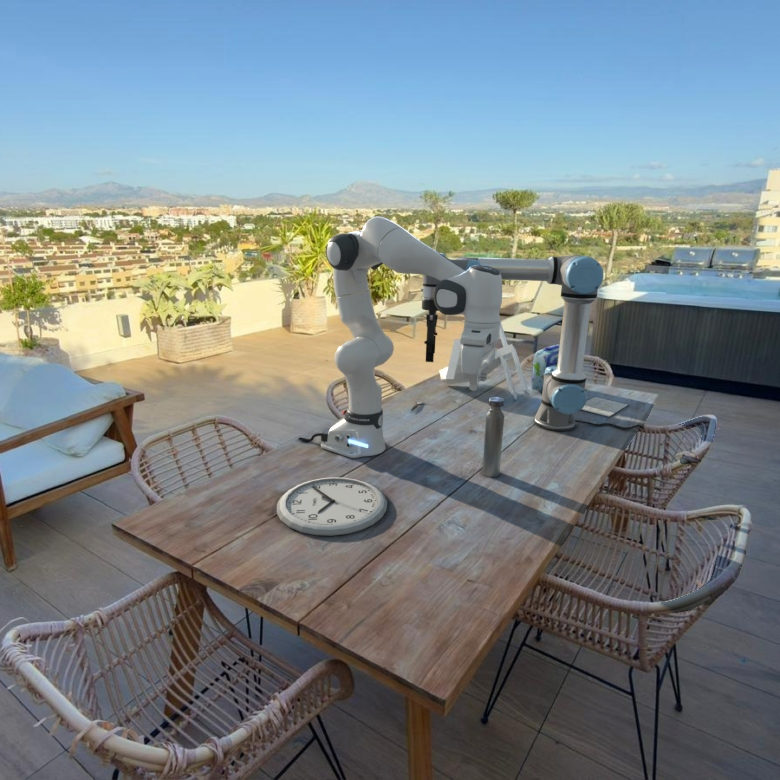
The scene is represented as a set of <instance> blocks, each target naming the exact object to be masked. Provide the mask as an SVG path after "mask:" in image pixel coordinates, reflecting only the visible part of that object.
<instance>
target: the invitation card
mask: <svg viewBox="0 0 780 780" xmlns="http://www.w3.org/2000/svg"><path fill="white" fill-rule="evenodd" d="M628 406H629V404H627V403H623V402H618V401H614V400H609V399H605V398H601V397H596V396H593V397H592V398H590V399H587V401H586V404H585V406H584V407H583V408H582V409H581V410H580V411H584V412H587V413H593V414H596V415H600V416H604V417H608V418H609V417H611V416H613V415H614V414H616V413H617V412H619V411H621V410H623V409H624V408H626V407H628Z"/></svg>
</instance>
